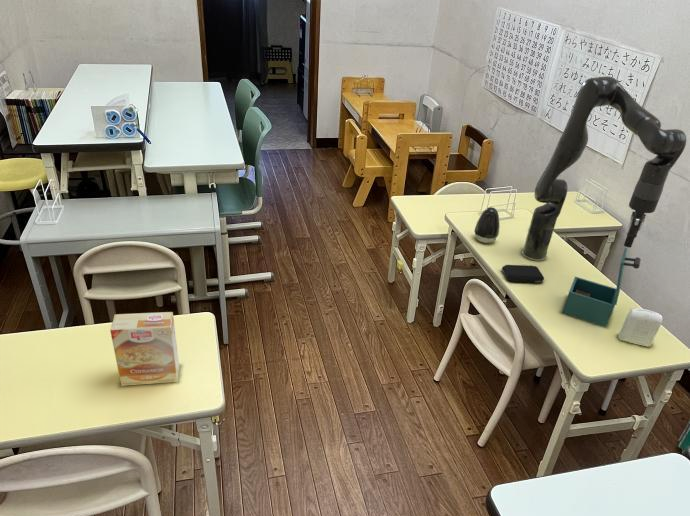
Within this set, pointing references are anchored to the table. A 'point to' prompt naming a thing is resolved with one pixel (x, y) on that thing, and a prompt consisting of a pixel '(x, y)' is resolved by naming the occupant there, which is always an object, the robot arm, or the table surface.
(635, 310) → the photo printer
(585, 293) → the block
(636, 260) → the lid
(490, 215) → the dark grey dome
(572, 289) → the chest
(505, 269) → the carrying case
